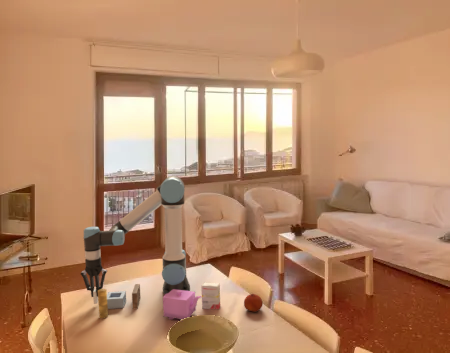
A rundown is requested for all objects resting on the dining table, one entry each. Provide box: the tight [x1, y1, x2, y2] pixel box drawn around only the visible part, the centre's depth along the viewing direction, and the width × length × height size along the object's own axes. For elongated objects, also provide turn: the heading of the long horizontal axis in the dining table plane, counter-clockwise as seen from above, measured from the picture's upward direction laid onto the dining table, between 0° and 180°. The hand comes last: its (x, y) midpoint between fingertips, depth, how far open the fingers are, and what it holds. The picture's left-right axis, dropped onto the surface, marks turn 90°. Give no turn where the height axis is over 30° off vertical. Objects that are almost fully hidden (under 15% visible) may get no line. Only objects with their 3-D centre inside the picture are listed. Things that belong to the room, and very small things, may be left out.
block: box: [107, 290, 127, 310], centre depth 190 cm, size 9×9×5 cm
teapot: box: [162, 289, 202, 321], centre depth 175 cm, size 20×10×12 cm, turn 71°
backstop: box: [131, 283, 141, 310], centre depth 191 cm, size 2×12×8 cm, turn 6°
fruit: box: [243, 293, 264, 313], centre depth 180 cm, size 9×9×8 cm
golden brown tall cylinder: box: [97, 288, 109, 319], centre depth 177 cm, size 4×4×13 cm
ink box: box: [200, 281, 221, 310], centre depth 184 cm, size 9×5×12 cm, turn 79°
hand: (96, 302), depth 189 cm, fingers closed
